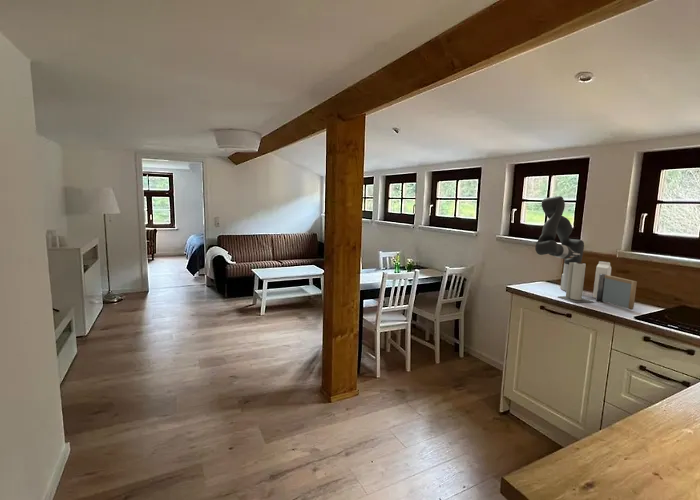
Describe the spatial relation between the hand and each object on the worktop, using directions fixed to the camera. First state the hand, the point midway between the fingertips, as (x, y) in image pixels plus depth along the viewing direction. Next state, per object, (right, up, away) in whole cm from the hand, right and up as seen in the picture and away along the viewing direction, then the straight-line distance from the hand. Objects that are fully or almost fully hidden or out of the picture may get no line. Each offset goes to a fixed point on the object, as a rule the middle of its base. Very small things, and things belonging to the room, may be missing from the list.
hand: (575, 255), depth 220 cm
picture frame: (+15, -27, -14) cm, 34 cm away
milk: (+18, -26, +5) cm, 32 cm away
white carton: (-1, -26, -1) cm, 26 cm away
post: (+12, -27, -3) cm, 30 cm away
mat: (-1, -26, -1) cm, 26 cm away
